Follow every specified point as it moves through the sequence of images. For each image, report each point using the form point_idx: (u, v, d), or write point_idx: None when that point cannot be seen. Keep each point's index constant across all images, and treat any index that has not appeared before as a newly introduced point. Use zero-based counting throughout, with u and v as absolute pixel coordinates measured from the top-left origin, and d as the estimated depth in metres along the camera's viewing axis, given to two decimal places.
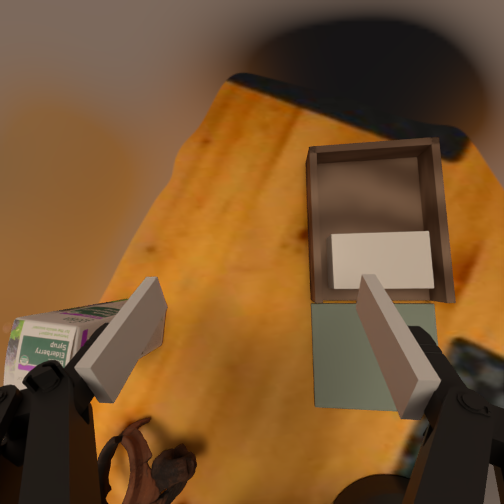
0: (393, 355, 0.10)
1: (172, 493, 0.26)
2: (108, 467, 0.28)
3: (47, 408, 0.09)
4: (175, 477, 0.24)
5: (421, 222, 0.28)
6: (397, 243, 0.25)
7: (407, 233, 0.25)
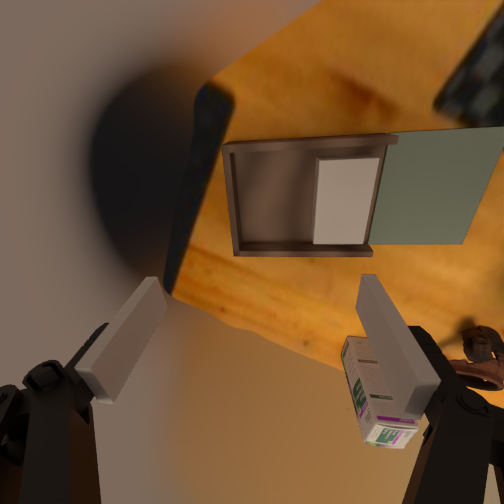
0: (393, 355, 0.10)
1: (497, 346, 0.36)
2: (463, 374, 0.41)
3: (47, 408, 0.09)
4: (486, 353, 0.34)
5: None
6: (328, 190, 0.27)
7: (319, 181, 0.26)
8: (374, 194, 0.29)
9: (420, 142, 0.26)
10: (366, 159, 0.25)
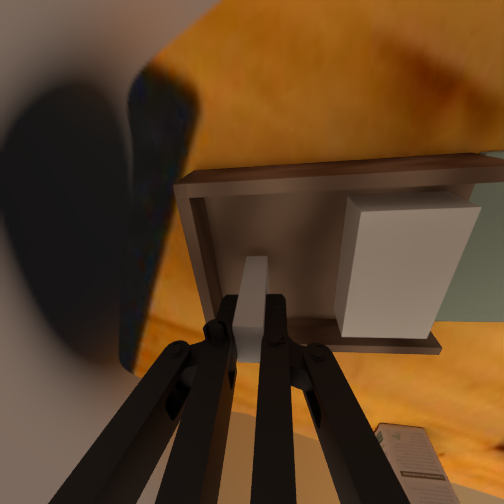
0: None
1: None
2: None
3: (211, 361, 0.10)
4: None
5: None
6: (373, 261, 0.15)
7: (359, 245, 0.14)
8: None
9: None
10: (454, 209, 0.13)
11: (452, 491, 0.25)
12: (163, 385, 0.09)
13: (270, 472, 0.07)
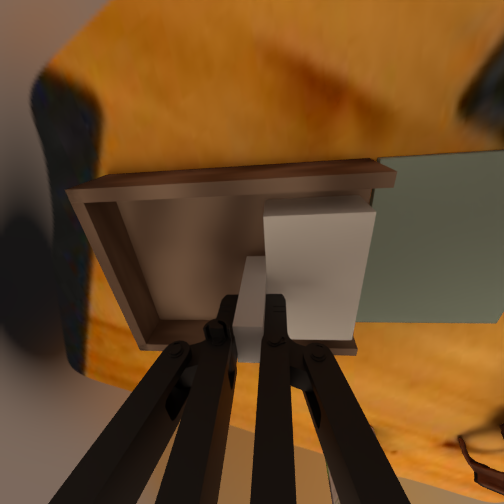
0: None
1: None
2: None
3: (211, 361, 0.10)
4: None
5: None
6: (285, 264, 0.15)
7: (268, 249, 0.14)
8: None
9: (434, 174, 0.15)
10: (351, 214, 0.13)
11: None
12: (163, 385, 0.09)
13: (270, 472, 0.07)
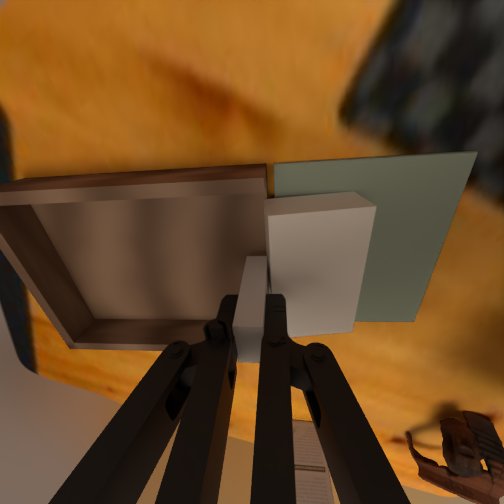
0: None
1: (489, 450, 0.25)
2: None
3: (211, 360, 0.10)
4: (473, 471, 0.23)
5: None
6: (289, 263, 0.15)
7: (272, 249, 0.14)
8: None
9: (326, 179, 0.15)
10: (353, 209, 0.13)
11: (328, 482, 0.27)
12: (163, 385, 0.09)
13: (270, 472, 0.07)
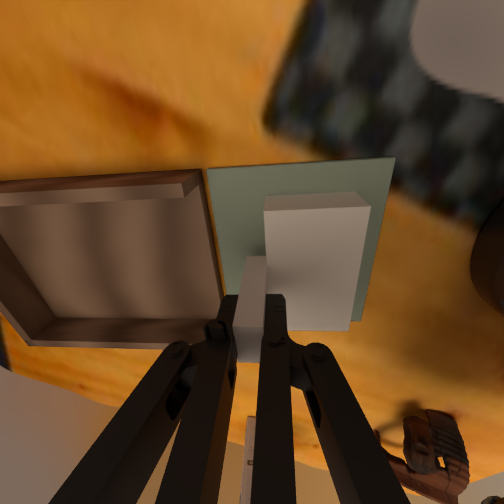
0: None
1: (447, 447, 0.26)
2: None
3: (211, 360, 0.10)
4: (427, 468, 0.23)
5: None
6: (284, 257, 0.15)
7: (268, 242, 0.15)
8: (210, 259, 0.19)
9: (257, 183, 0.16)
10: (347, 208, 0.13)
11: None
12: (163, 385, 0.09)
13: (270, 472, 0.07)
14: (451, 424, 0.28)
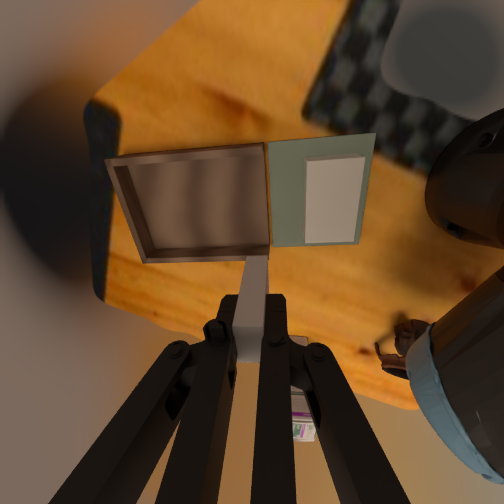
0: None
1: None
2: None
3: (211, 360, 0.10)
4: (410, 346, 0.35)
5: None
6: (316, 190, 0.27)
7: (308, 181, 0.27)
8: (265, 200, 0.30)
9: (297, 150, 0.28)
10: (352, 158, 0.25)
11: None
12: (163, 385, 0.09)
13: (270, 472, 0.07)
14: None
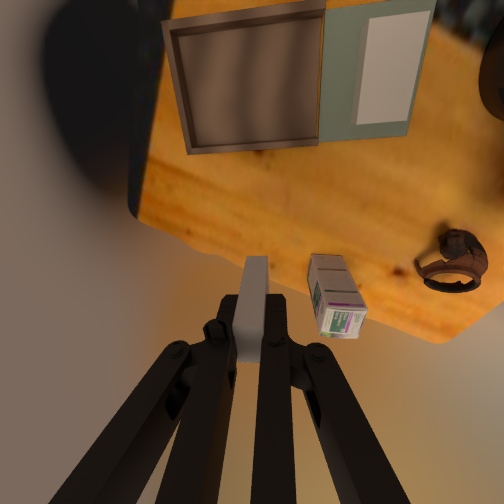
0: None
1: (472, 243, 0.37)
2: (444, 283, 0.42)
3: (211, 361, 0.10)
4: (459, 244, 0.35)
5: (243, 30, 0.28)
6: (375, 55, 0.27)
7: (368, 44, 0.26)
8: (316, 80, 0.30)
9: (354, 18, 0.27)
10: (417, 13, 0.25)
11: (349, 274, 0.39)
12: (163, 385, 0.09)
13: (270, 472, 0.07)
14: (473, 236, 0.39)
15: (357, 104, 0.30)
